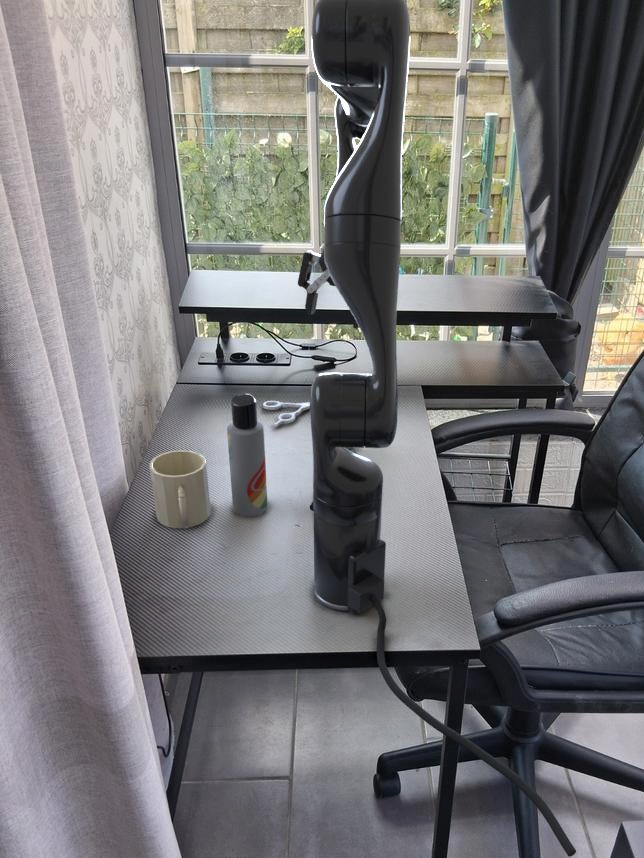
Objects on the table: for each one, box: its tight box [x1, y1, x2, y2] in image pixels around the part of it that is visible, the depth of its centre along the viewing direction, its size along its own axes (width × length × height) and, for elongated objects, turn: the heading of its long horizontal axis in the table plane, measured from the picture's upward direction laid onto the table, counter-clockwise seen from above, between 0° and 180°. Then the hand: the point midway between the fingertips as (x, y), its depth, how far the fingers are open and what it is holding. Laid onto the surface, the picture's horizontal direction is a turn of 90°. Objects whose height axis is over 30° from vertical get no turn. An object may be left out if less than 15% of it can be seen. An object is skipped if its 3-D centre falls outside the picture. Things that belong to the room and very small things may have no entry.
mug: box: [148, 449, 211, 529], centre depth 126 cm, size 12×9×10 cm
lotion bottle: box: [226, 393, 268, 517], centre depth 127 cm, size 6×6×20 cm
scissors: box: [262, 400, 310, 428], centre depth 165 cm, size 11×1×20 cm
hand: (333, 320), depth 138 cm, fingers open, 8 cm apart
